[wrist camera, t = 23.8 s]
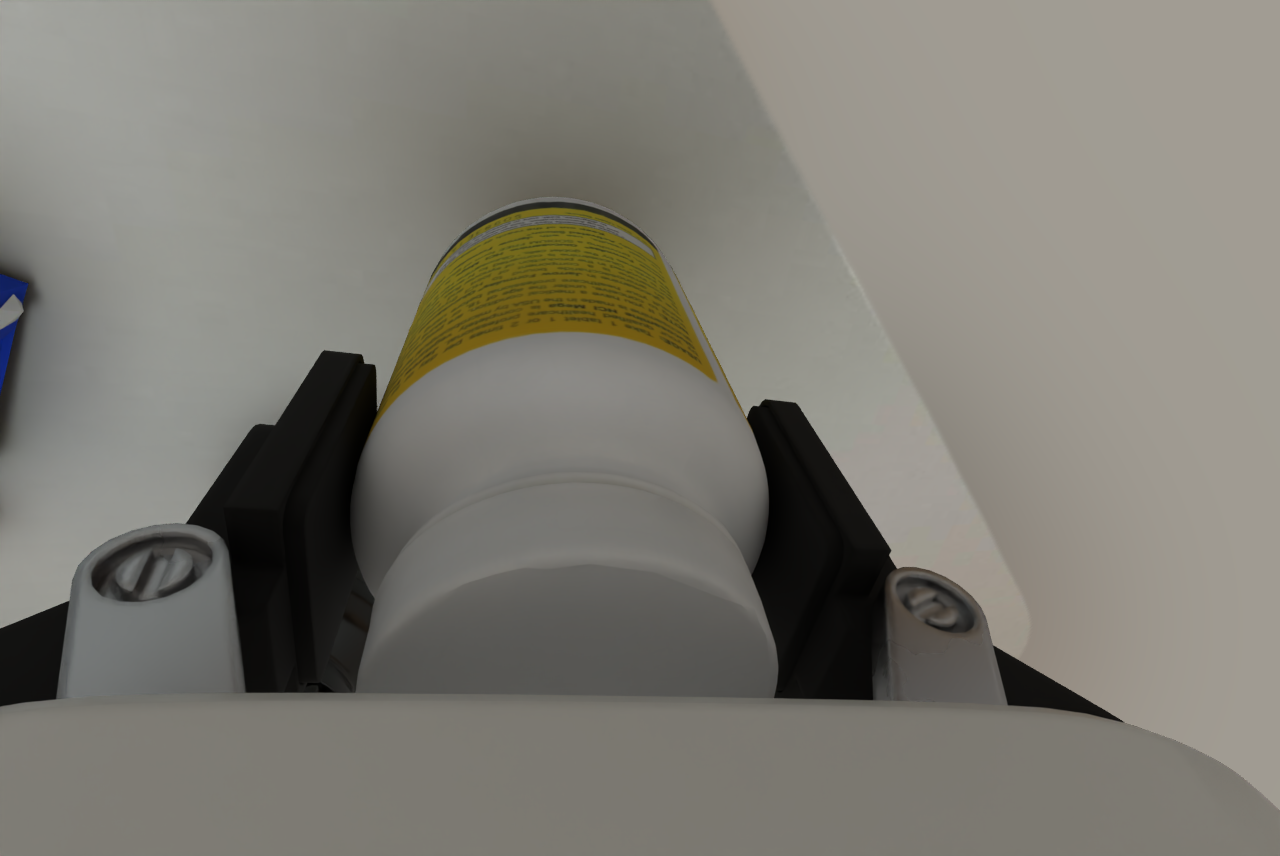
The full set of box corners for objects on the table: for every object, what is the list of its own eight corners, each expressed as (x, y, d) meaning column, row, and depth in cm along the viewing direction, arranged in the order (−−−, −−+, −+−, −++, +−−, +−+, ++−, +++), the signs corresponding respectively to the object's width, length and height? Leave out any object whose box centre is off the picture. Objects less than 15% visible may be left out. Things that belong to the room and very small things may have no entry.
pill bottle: (372, 306, 16) (127, 725, 7) (569, 129, 14) (614, 350, 5) (548, 464, 19) (550, 905, 10) (726, 331, 17) (937, 703, 8)
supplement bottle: (346, 578, 29) (245, 875, 19) (217, 475, 26) (8, 770, 16) (472, 503, 28) (436, 777, 18) (354, 385, 25) (226, 640, 14)
